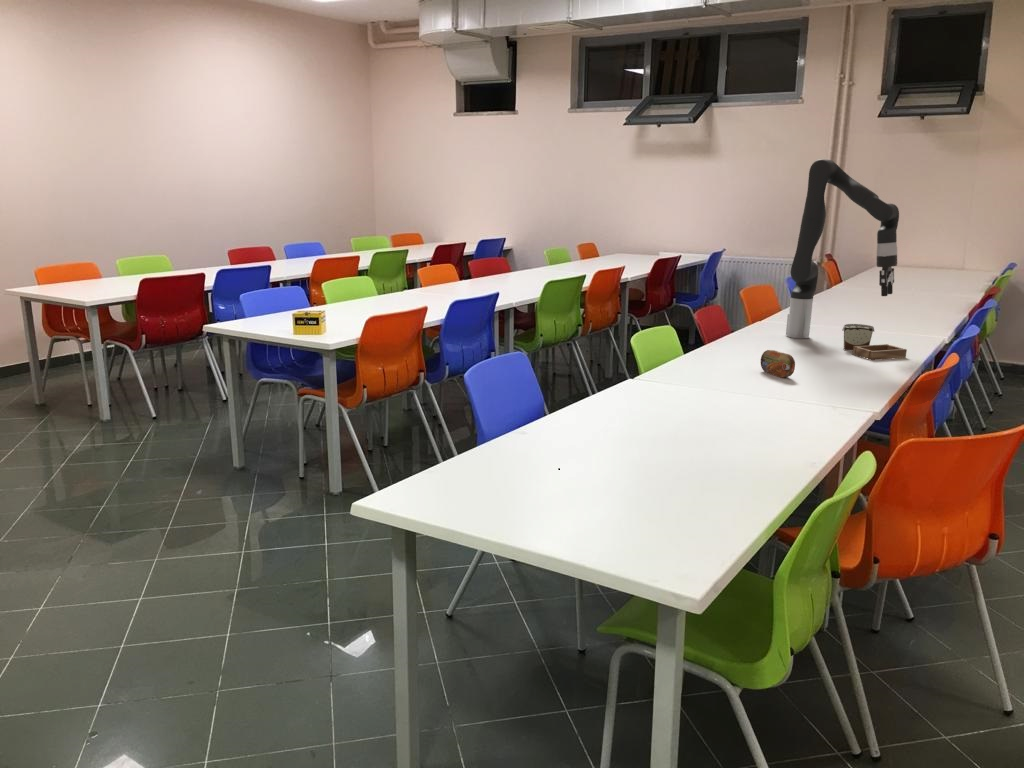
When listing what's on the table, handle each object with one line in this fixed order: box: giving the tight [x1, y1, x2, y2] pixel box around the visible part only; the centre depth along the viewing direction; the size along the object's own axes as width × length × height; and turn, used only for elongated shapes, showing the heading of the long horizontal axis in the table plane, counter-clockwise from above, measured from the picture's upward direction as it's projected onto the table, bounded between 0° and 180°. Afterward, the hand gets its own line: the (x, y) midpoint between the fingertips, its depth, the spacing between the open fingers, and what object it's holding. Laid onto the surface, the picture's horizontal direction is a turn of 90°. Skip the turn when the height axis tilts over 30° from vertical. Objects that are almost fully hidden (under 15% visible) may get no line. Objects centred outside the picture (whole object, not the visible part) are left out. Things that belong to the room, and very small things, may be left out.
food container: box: [841, 323, 875, 351], centre depth 324 cm, size 12×6×10 cm, turn 84°
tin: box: [760, 349, 796, 378], centre depth 280 cm, size 15×3×8 cm, turn 23°
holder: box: [852, 343, 908, 361], centre depth 312 cm, size 10×16×3 cm, turn 108°
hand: (886, 295), depth 320 cm, fingers open, 8 cm apart
